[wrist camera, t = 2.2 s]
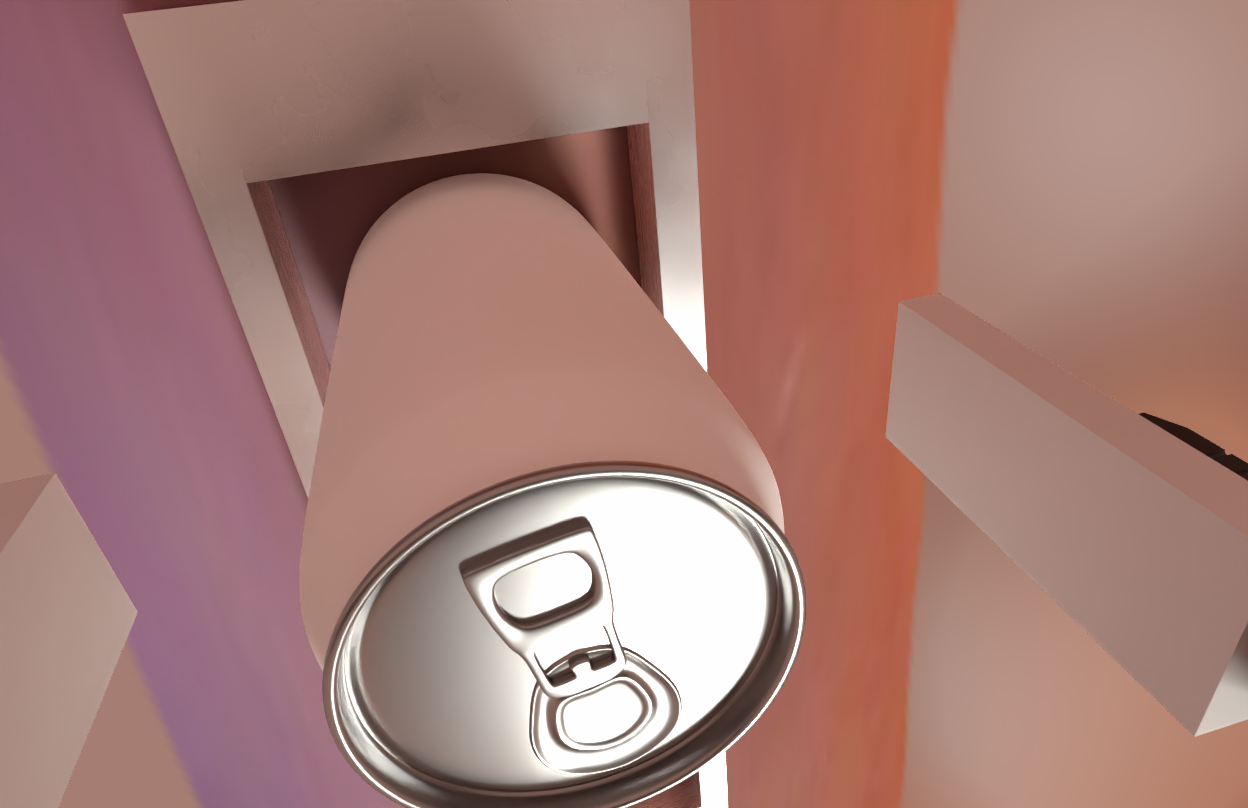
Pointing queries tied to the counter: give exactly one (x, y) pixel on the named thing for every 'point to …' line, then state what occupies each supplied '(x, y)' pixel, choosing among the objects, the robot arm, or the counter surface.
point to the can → (532, 520)
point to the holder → (417, 146)
